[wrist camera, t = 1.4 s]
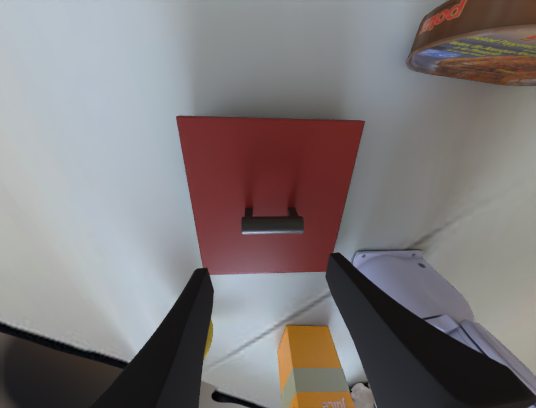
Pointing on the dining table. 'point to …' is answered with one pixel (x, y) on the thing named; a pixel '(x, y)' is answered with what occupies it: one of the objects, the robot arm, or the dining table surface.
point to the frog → (362, 396)
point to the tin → (478, 41)
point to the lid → (267, 189)
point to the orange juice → (311, 370)
